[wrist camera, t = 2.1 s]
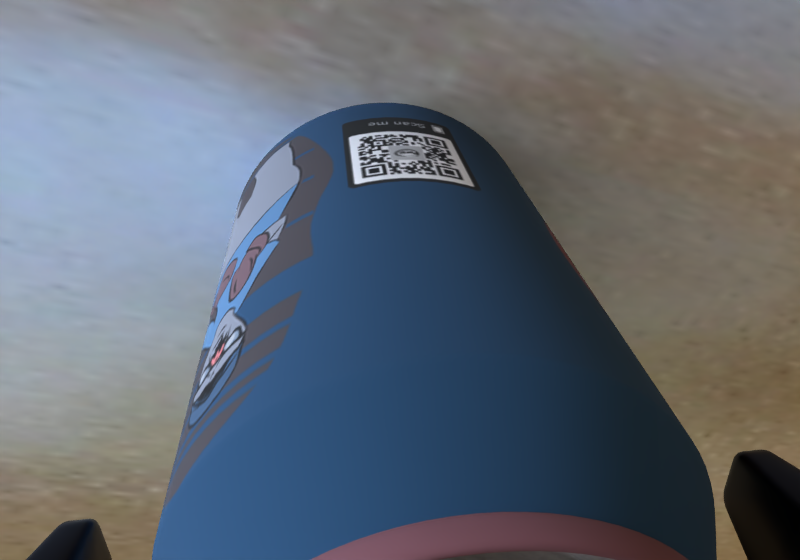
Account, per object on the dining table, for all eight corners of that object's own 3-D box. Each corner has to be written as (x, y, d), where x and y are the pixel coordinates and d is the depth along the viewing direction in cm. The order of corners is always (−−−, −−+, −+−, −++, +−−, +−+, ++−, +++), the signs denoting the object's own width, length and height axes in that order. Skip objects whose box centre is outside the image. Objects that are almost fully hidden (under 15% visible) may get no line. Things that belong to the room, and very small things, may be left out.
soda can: (490, 335, 19) (690, 851, 9) (244, 335, 18) (150, 906, 8) (533, 93, 16) (935, 480, 6) (232, 78, 15) (41, 506, 5)
